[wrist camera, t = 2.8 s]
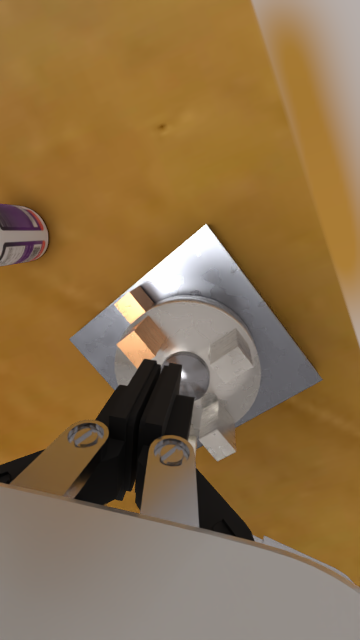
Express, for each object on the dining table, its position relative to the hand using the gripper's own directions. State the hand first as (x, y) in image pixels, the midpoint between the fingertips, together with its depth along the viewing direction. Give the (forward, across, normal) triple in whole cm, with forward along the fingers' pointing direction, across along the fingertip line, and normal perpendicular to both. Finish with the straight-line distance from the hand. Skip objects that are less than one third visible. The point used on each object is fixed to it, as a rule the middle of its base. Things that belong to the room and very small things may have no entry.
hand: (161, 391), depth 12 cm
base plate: (+17, 0, +6) cm, 18 cm away
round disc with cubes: (+15, +1, +5) cm, 16 cm away
